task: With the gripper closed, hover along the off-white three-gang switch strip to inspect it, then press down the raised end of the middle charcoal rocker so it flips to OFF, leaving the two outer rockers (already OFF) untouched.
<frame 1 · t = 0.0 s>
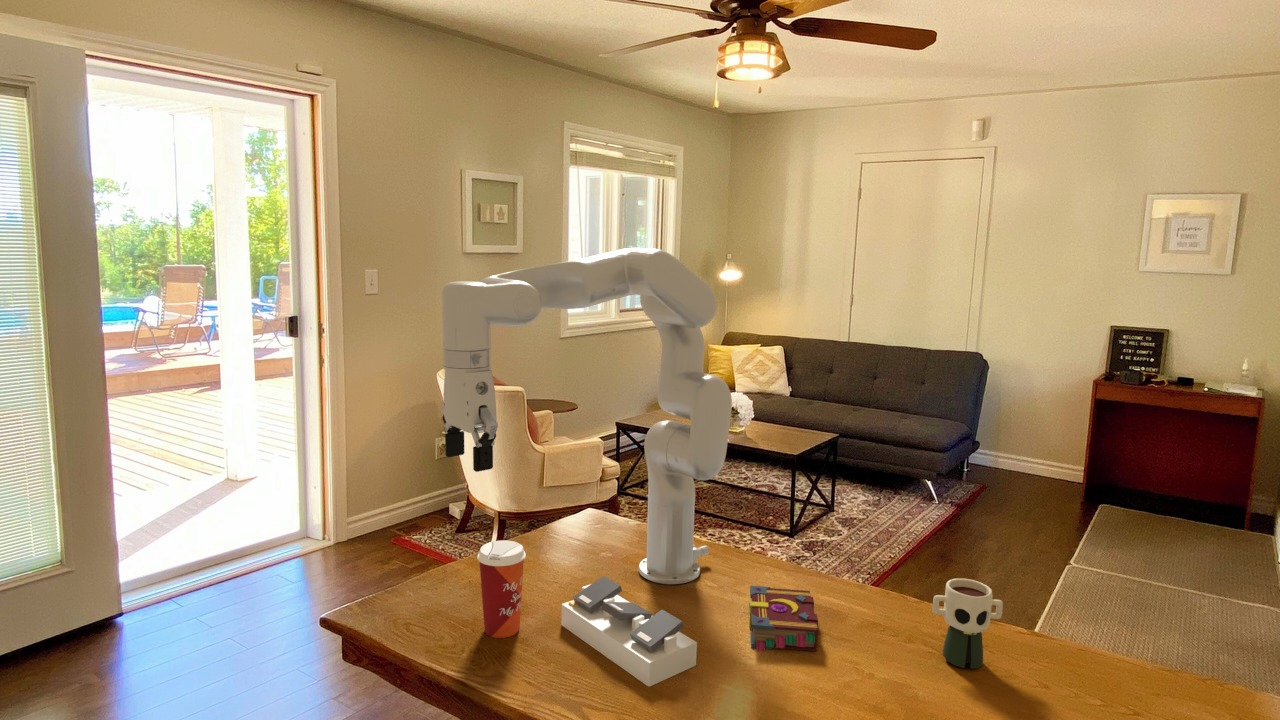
hand: (468, 462, 127), 31 cm above the table, fingers open, 9 cm apart
strip: (625, 644, 132), on the table
decorative book: (781, 632, 138), on the table
coffee cup: (502, 630, 136), on the table
rocker 1: (597, 594, 137), point 6 cm above the table, hinge at 18.0°, touching strip
rocker mid: (626, 611, 131), point 6 cm above the table, hinge at -18.0°
character mug: (962, 662, 129), on the table
rocker 2: (657, 631, 125), point 6 cm above the table, hinge at 18.0°
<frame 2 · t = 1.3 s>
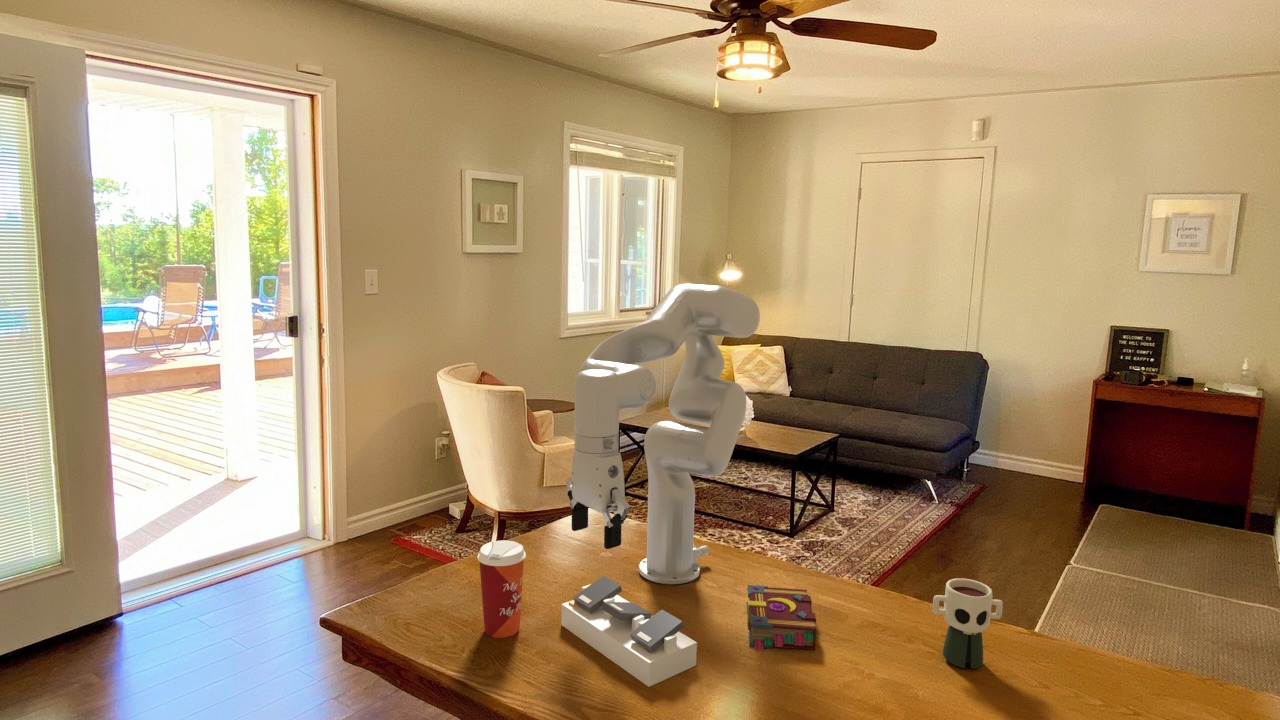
hand: (595, 537, 136), 16 cm above the table, fingers open, 9 cm apart
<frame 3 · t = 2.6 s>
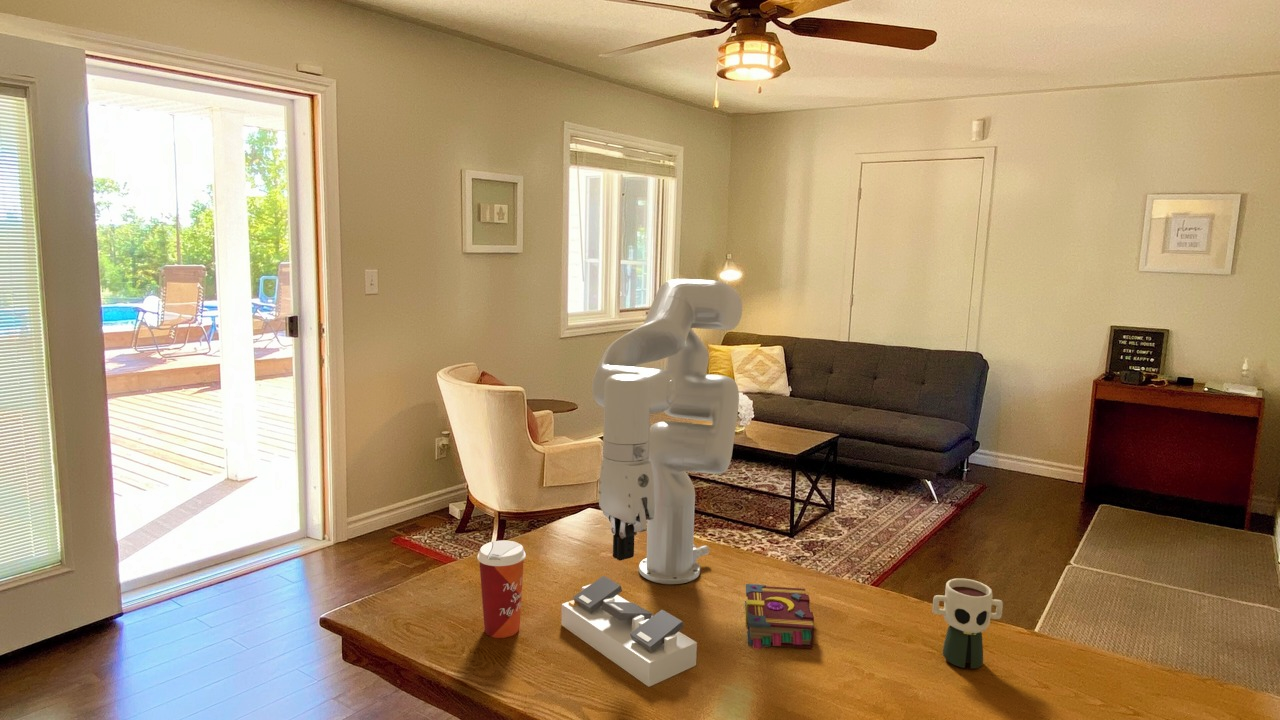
hand: (623, 557, 130), 16 cm above the table, fingers closed
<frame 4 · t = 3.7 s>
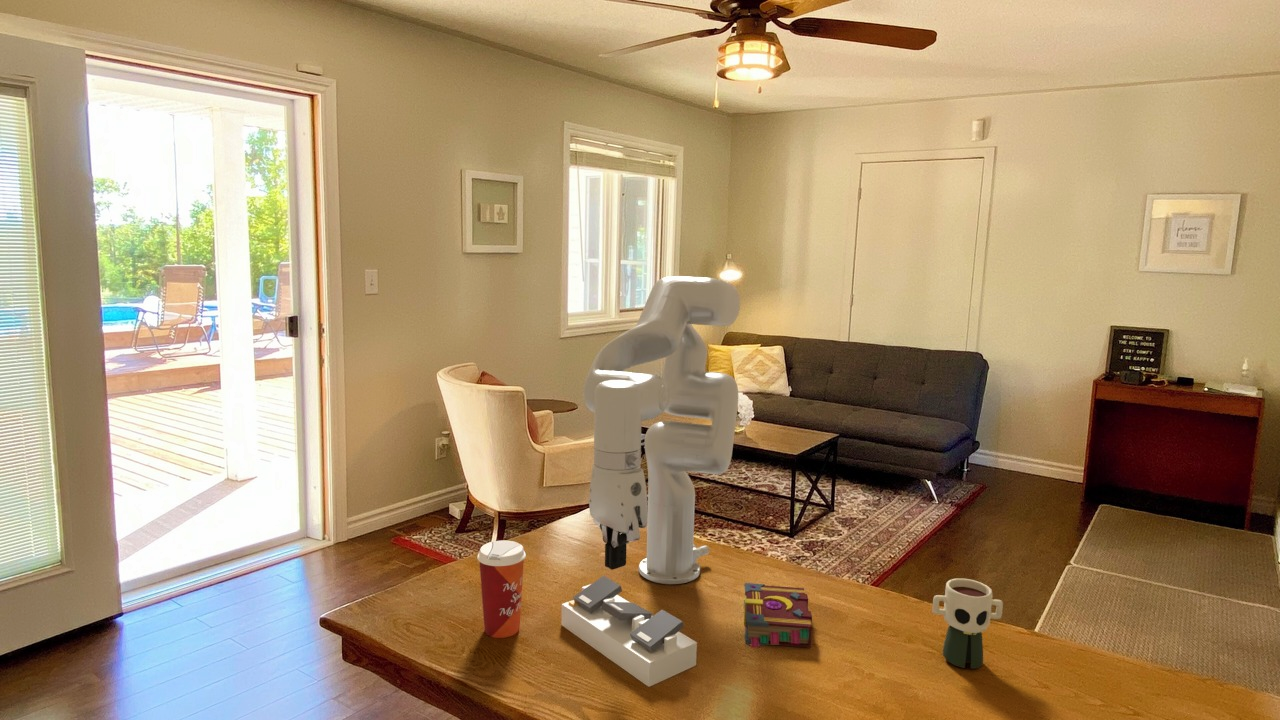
hand: (615, 565, 128), 15 cm above the table, fingers closed
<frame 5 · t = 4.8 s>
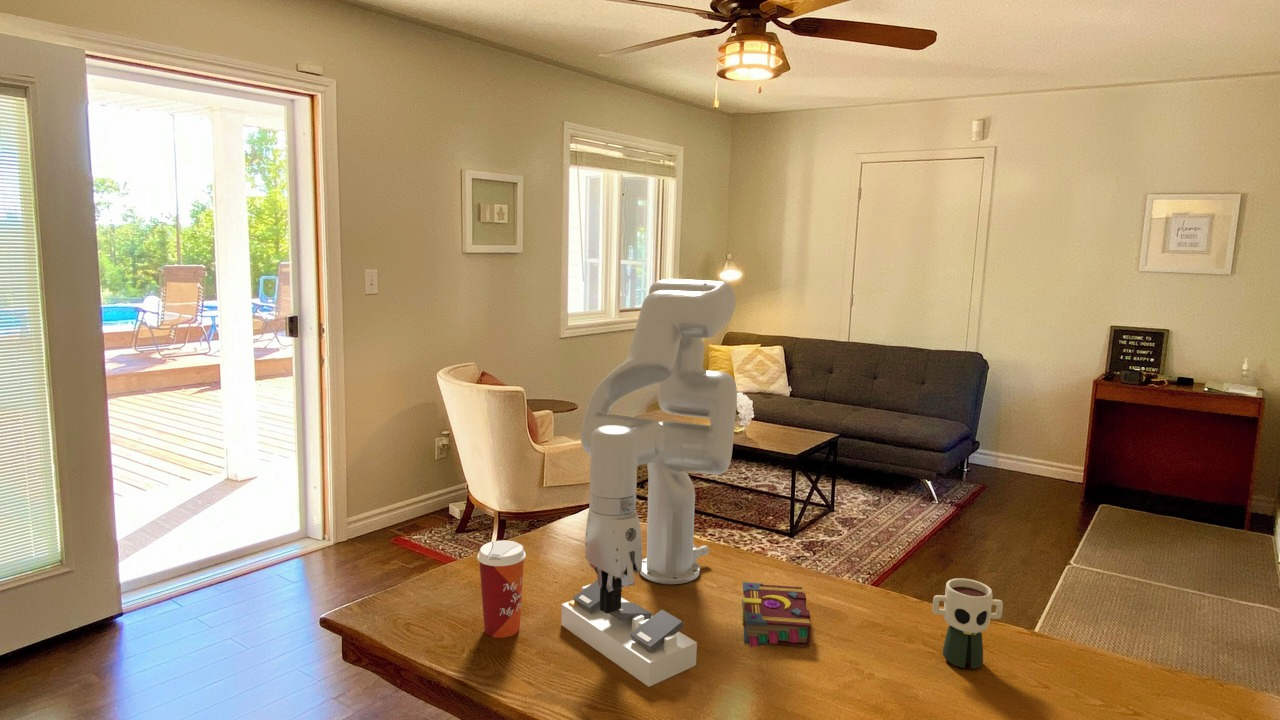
hand: (610, 609, 129), 7 cm above the table, fingers closed
rocker mid: (626, 611, 131), point 6 cm above the table, hinge at -17.6°, touching gripper
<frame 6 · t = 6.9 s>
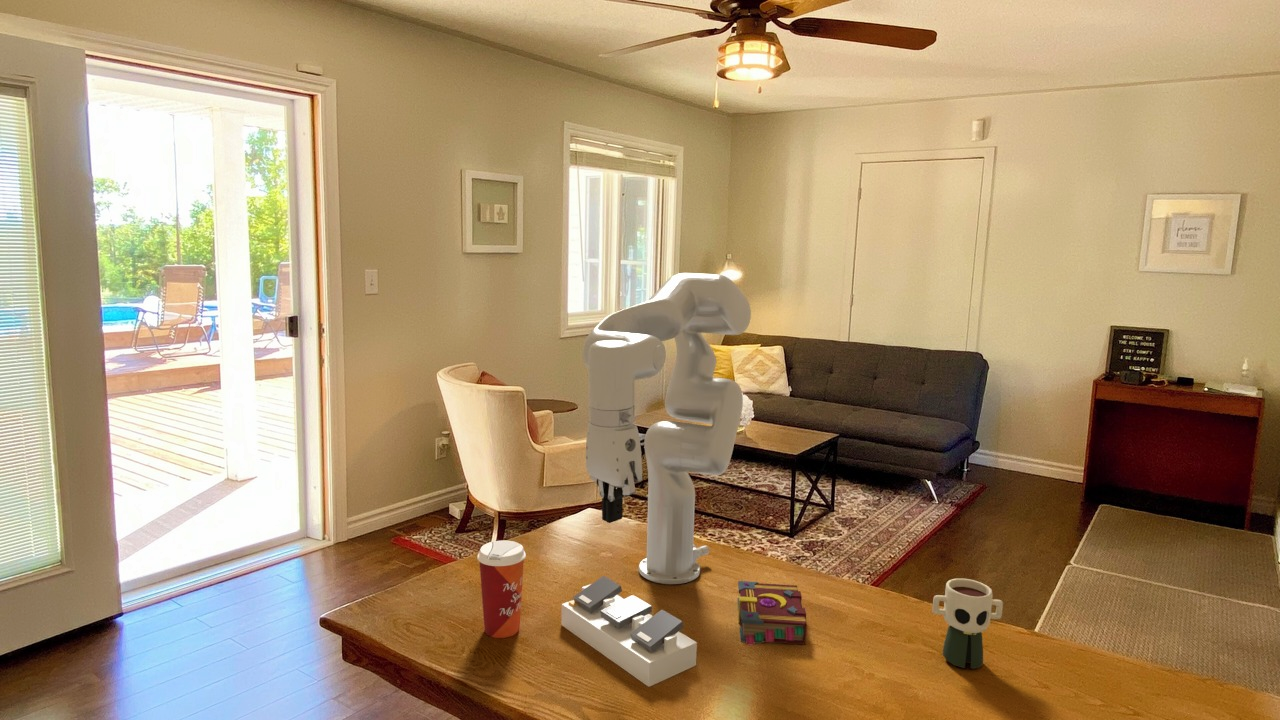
hand: (612, 519, 133), 21 cm above the table, fingers closed
rocker mid: (626, 611, 131), point 6 cm above the table, hinge at 6.3°
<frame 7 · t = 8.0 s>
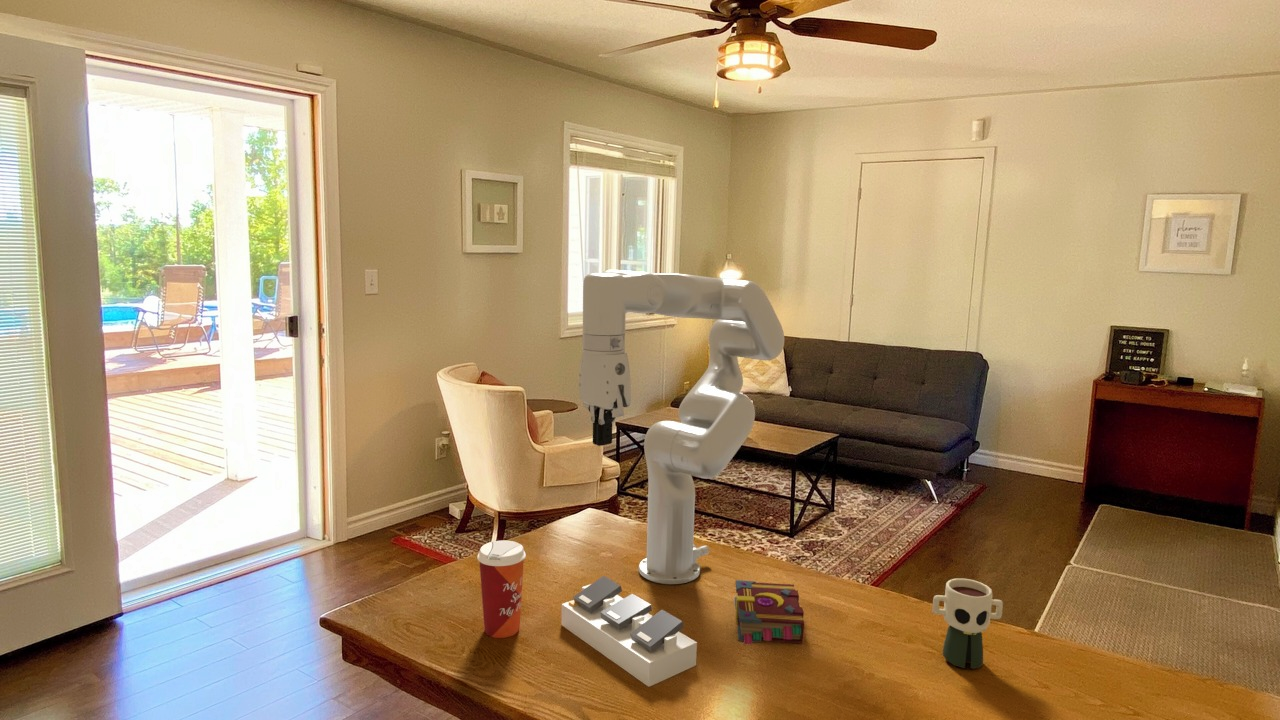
hand: (602, 443, 141), 31 cm above the table, fingers closed
rocker mid: (626, 611, 131), point 6 cm above the table, hinge at 10.6°
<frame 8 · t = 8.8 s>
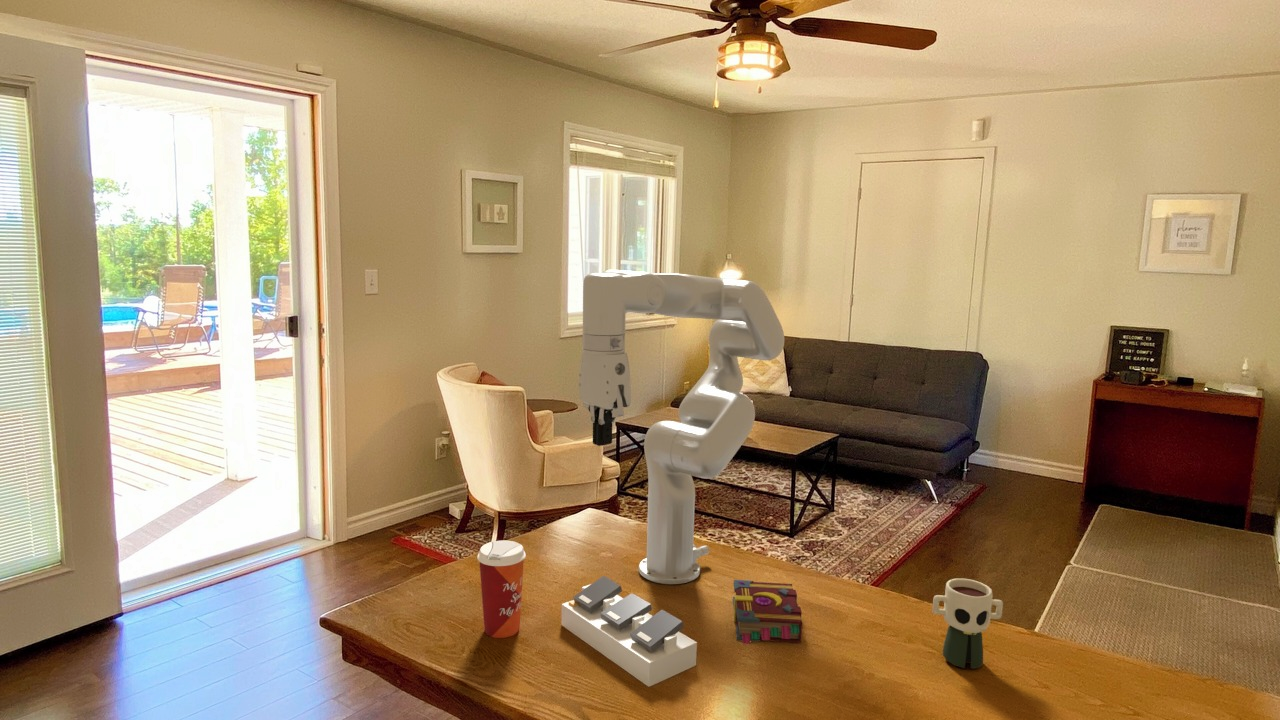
hand: (602, 443, 141), 31 cm above the table, fingers closed
rocker mid: (626, 611, 131), point 6 cm above the table, hinge at 12.5°
at the end: rocker mid at +13° (first picture: -18°); rocker 1 at +18° (first picture: +18°); rocker 2 at +18° (first picture: +18°) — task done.
